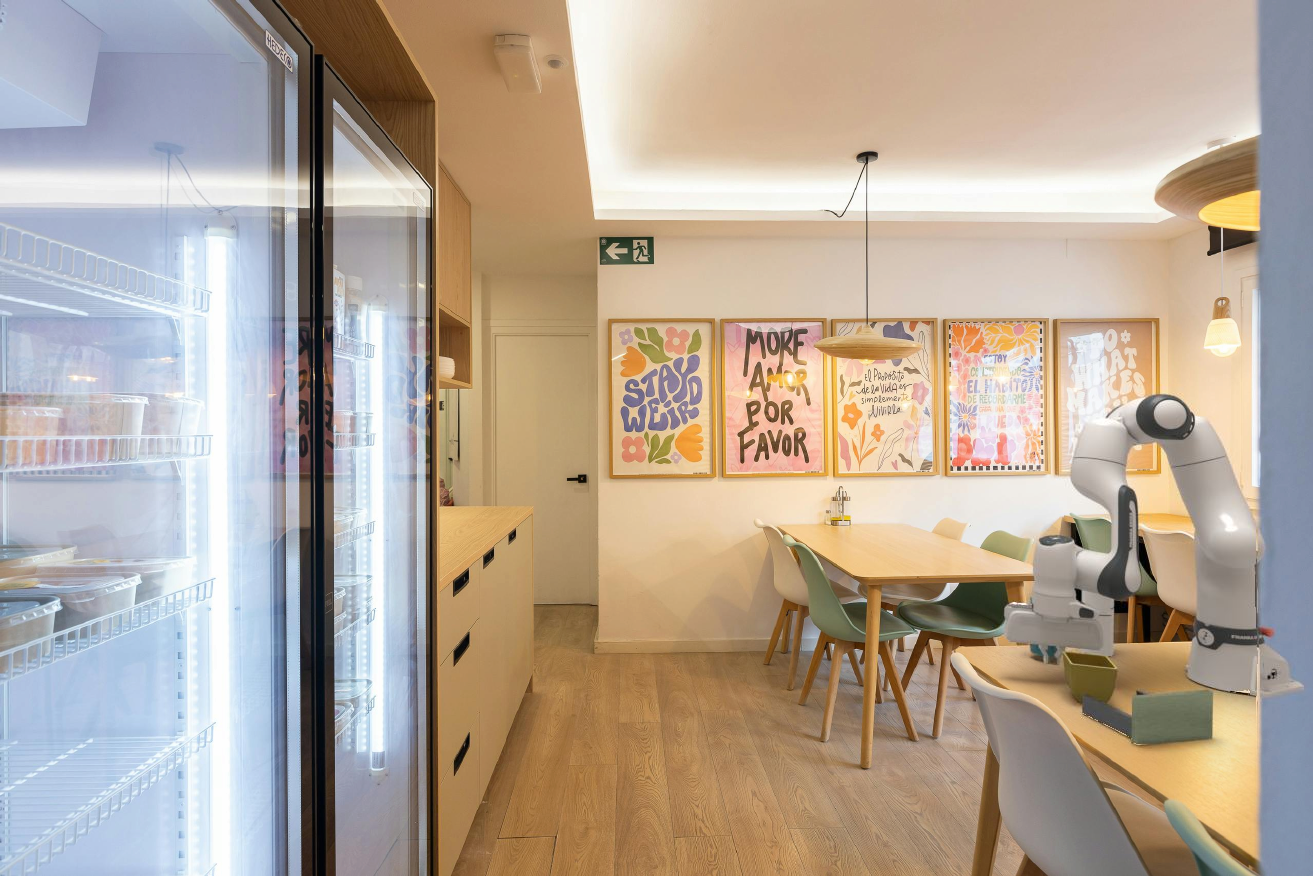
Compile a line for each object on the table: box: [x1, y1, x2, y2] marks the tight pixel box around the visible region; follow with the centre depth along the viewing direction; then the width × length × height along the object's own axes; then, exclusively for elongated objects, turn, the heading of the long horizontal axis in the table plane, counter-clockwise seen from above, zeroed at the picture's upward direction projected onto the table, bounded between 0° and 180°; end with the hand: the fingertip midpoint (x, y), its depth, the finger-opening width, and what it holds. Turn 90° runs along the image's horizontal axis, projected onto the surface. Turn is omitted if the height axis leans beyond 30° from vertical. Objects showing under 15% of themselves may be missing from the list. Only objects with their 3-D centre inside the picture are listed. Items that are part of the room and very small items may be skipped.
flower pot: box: [1062, 650, 1119, 704], centre depth 147 cm, size 9×9×9 cm
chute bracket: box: [1081, 689, 1214, 745], centre depth 134 cm, size 17×14×9 cm
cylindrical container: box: [1080, 590, 1115, 658], centre depth 179 cm, size 7×7×25 cm
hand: (1051, 663), depth 158 cm, fingers closed
